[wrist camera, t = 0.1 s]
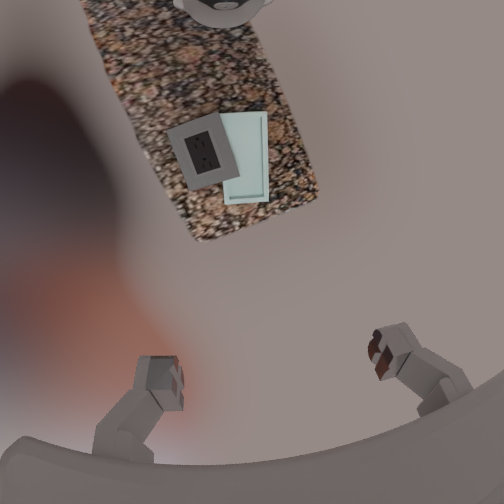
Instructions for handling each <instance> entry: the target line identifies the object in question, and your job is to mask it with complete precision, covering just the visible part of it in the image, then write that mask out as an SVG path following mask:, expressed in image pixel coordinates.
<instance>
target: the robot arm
mask: <svg viewBox="0 0 504 504" xmlns="http://www.w3.org/2000/svg"><path fill="white" fill-rule="evenodd" d="M272 2H273V0H173V5H174V7H176V8H178V9H180V10H183V11H185V12H187V13H188V14H189V15H190V16H191V17H192V18H193V19H194V20H195V21H197V22H199V23H200V24H202V25H205V26H208V27H212V28H231V27H236V26H239V25H242V24H244V23H246V22H247V21H249V20H250V19H252V18H253V17H254V16H255V15H256V14H257V12H258V11H259V10H260V9H261V8H262V7H264V6H266V5H268V4H270V3H272ZM373 337H374V338H373V339H372V340H371V341H370V342H369V345H368V354H369V358H370V360H371V362H373V363H374V364H376V366H375V371H376V373H377V375H378V378H379V380H380V381H382V380H386V379H389V378H393V377H396V378H397V379H398V380H400V381H401V382H402V383H404V384H405V385H406V386H407V387H408V388H410V389H411V390H412V391H413V392H415V393H416V394H417V395H418V396H420V397H421V398H422V399H423V401H422V402H421V403H420V404H419V406H418V407H417V411H418V413H419V416H420V418H419V419H416V420H414V421H412V422H409V423H407V424H405V425H402V426H400V427H397V428H395V429H392V430H390V431H387V432H384V433H381V434H378V435H375V436H373V437H370V438H367V439H363V440H360V441H357V442H354V443H350V444H347V445H343V446H340V447H336V448H332V449H328V450H324V451H319V452H315V453H310V454H306V455H300V456H295V457H289V458H283V459H277V460H269V461H262V462H252V463H241V464H228V465H227V464H226V465H169V464H154V453H153V452H152V450H150V449H149V448H148V447H147V446H146V445H144V444H143V442H144V441H145V439H146V438H147V437H148V435H149V434H150V432H151V431H152V429H153V428H154V426H155V424H156V423H157V422H158V420H159V419H160V417H161V416H162V414H163V413H164V412H163V411H183V406H184V397H183V394H182V392H181V391H182V390H183V389H184V374H183V371H182V367H181V366H179V365H178V363H179V360H178V358H177V356H140V357H139V359H138V362H137V367H136V373H135V378H134V384H133V390H129V391H128V392H127V393H126V394H125V395H124V396H123V397H122V398H121V400H120V401H119V402H118V403H117V404H116V405H115V406H114V407H113V408H112V409H111V410H110V411H109V413H108V414H107V415H106V416H105V417H104V418H103V419H102V420H101V421H100V423H98V425H97V426H96V430H95V436H94V443H93V449H92V454H88V453H83V452H79V451H75V450H71V449H68V448H64V447H60V446H57V445H54V444H50V443H47V442H44V441H41V440H38V439H35V438H33V437H29V436H22V437H21V438H19V439H18V440H17V441H15V442H14V443H13V444H12V445H11V446H10V447H9V448H8V449H6V451H5V452H4V453H3V455H2V457H1V459H0V504H504V370H503V371H501V372H500V373H498V374H497V375H496V376H494V377H493V378H491V379H490V380H488V381H487V382H485V383H483V384H482V385H480V386H479V387H477V388H476V389H473V387H472V386H471V384H470V382H469V381H468V379H467V377H466V375H465V373H464V372H463V370H462V369H461V368H459V367H458V366H456V365H454V364H452V363H451V362H449V361H447V360H446V359H444V358H442V357H441V356H439V355H437V354H435V353H434V352H432V351H430V350H428V349H427V348H422V346H421V345H420V343H419V342H418V340H417V338H416V337H415V335H414V334H413V332H412V330H411V329H410V327H409V326H408V324H407V323H405V322H403V323H399V324H396V325H390V326H387V327H383V328H379V329H376V330H375V331H374V332H373Z"/></svg>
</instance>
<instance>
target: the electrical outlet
mask: <svg viewBox="0 0 504 504" xmlns="http://www.w3.org/2000/svg"><path fill="white" fill-rule="evenodd" d="M166 132H167V135H168V137H169V140H170V142H171V145H172V148H173V150H174V153H175V155H176V158H177V161H178V163H179V166H180V168H181V171H182V173H183V176H184V178H185V181H186V183H187V186H188V188H189V191H192V190H196V189H199V188H202V187H205V186H209V185H212V184H215V183H219V182H222V181H226V180H229V179H233V178H236V177H240V174H239V171H238V168H237V165H236V162H235V159H234V156H233V153H232V150H231V147H230V144H229V141H228V138H227V135H226V132H225V129H224V127H223V124H222V121H221V118H220V115H219V112H215V113H212V114H209V115H206V116H203V117H200V118H197V119H195V120H192V121H189V122H187V123H184V124H181V125H179V126H176V127H174V128H171V129H169V130H167V131H166Z"/></svg>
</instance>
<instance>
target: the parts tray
mask: <svg viewBox="0 0 504 504" xmlns="http://www.w3.org/2000/svg"><path fill="white" fill-rule="evenodd" d="M219 115H220V118H221V121H222V124H223V127H224V129H225V132H226V135H227V138H228V141H229V144H230V147H231V150H232V153H233V156H234V159H235V162H236V165H237V168H238V171H239V174H240V177H236V178H233V179H229V180H226V181H223V190H224V202H225V205H228V204H240V203H253V202H267V201H269V177H268V128H267V111H250V112H231V113H219Z"/></svg>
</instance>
